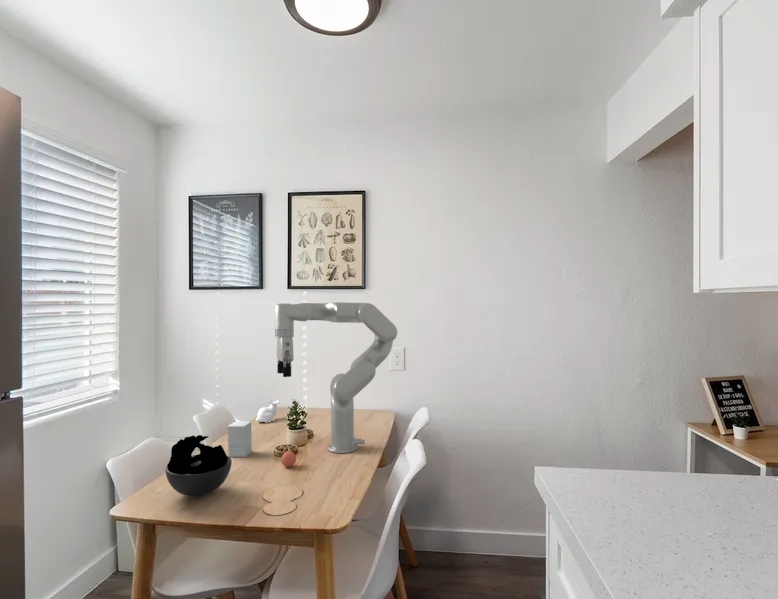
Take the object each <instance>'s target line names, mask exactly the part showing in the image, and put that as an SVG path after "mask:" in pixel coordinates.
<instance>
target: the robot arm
mask: <svg viewBox="0 0 778 599" xmlns="http://www.w3.org/2000/svg"><path fill="white" fill-rule="evenodd" d="M294 321H297V322H307V321H323V322H324V321H326V322H330V323H331V322H332V323H338V324H339V323H348V324H349V323H352V324H353V323H354V324H356V323H359V324H360V323H363V324H364V326H366V327H367V328H368V329H369V330H370V331H371V332H372V334H374V339H373V342H371V343H372V344H370V346H369V347H367V349H366V350H364V351H363V352H362V353H361V354H360V355H359V356H358V357H356V358H355V359H354V360H353V361H352V363H351V364H350V369H349V370H348V371H347V372H345V373H337V374H335V375H334V376H333V378H332V379H331V380H330V386H329V387H330V390H329V391H330V435H331V436H330V438H331V439H330V444H328V445H327V450H328V452H330V453H334V454H347V453H352V452H355V451H357V449H358V445H366V444H365V443H366V442H365V439H363V438H356V437H355V429H354V428H355V426H354V425H355V424H354V423H355V422H354V414H355V413H354V409H355V406H354V397H356V396H357V395H358V394H359V393H360V392H361V391H362V390H363V389H365V388H366V387H367V386H368V385H369V384H370V383H371V382H372V381H373V379H374V378H375V376H376V373H377V372H376V369H377V368H378V367H379V366H380V365H381V363H382V362H383V361H385V360H386V359H387V358H388V357H389V355H390V353H391V351H392V348H393V343H394V341H395V339H396V338H397V336H398V328H397V326H396V325H395V324H394V323H393V322H392V321H391V320H390V319H389V318H388V317H387V316H386V315H385V314H384V313H383V312H381V310H380V309H378V308H377V306H376V305H375V304H372V303H369V302H341V301H340V302H338V301H337V302H324V303H323V302H321V303H320V302H318V303H317V302H313V303H312V302H300V303H295V304H294V303H293V304H292V303H277V304H275V307H274V338H277V339H276V359H277V367H276V368H277V369H276V370H277V371H276V372H277V374H282V377H283V378H287V377H288V378H292V362H293V361H294V359H295V358H294V357H295V356H294V342H293V340H294V339H293V338H294V332H295V330H294V328H295V327H294V326H295V325H294V324H295V322H294ZM383 363H384V362H383Z"/></svg>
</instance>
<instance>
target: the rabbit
mask: <svg viewBox="0 0 778 599" xmlns="http://www.w3.org/2000/svg"><path fill="white" fill-rule="evenodd" d="M268 404H269V406H267V407H266V406H264V407H261V408H259V410H258V411H257V417H256V418H255V422H257V423H259V422H269V421H273V419H275V418H274V417H275V416H276V415H277V412H278V411H277V410H278V409H277V408H278V406H277V405H279V404H280V399H278V400H276V401H272V400H271V399H270V398H269V400H268Z"/></svg>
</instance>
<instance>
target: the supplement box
mask: <svg viewBox="0 0 778 599" xmlns="http://www.w3.org/2000/svg"><path fill="white" fill-rule="evenodd" d="M227 450H228V451H227V452H228V453H227V454H228V455H227V456H229V457H230V458H246V457H247V456H248V455H249V454H251V453H252V452H253V451H252V450H253V449H252V421H234V422H232V423H230V424H229V425H227ZM251 451H252V452H251Z"/></svg>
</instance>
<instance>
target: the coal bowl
mask: <svg viewBox="0 0 778 599" xmlns="http://www.w3.org/2000/svg"><path fill="white" fill-rule="evenodd" d="M209 437H210V436H207V435H204V436H203V435H202V434H198V435H194V434H193V435H191V436H186V437H185V436H184V439H182V438H181V439H179V440H178V441H177V442H176V443H174V445H172V447H171V449H170V451H171V452H170V459H169V462H168V463H167V465H166V466H165V477H166V479H167V481H168V483H169V484H170V487H171V488H172V489H173V490H174V491H176V492H177V493H179V494H180V495H183V496H186V497H192V498H199V497H203V496H207V495H209V494H211V493H213V492H214V491H216V490H218V489H219V488H220V487H221V486H222V485H223V484H224V482H225V480H226V479H227V478H228V477H229V474H230V471H231V468H232V462H233V460H232V457H229V456H228V455H227V453H226V451H225V449H224V447H223V446H222V445H221V444H219V445H217V446H216V445H215V446H211V445H205V444H204V443H202V442H203V441H205V440H206V439H209ZM196 449H199V453H198V454H193V453H194V451H195V450H196Z"/></svg>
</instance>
